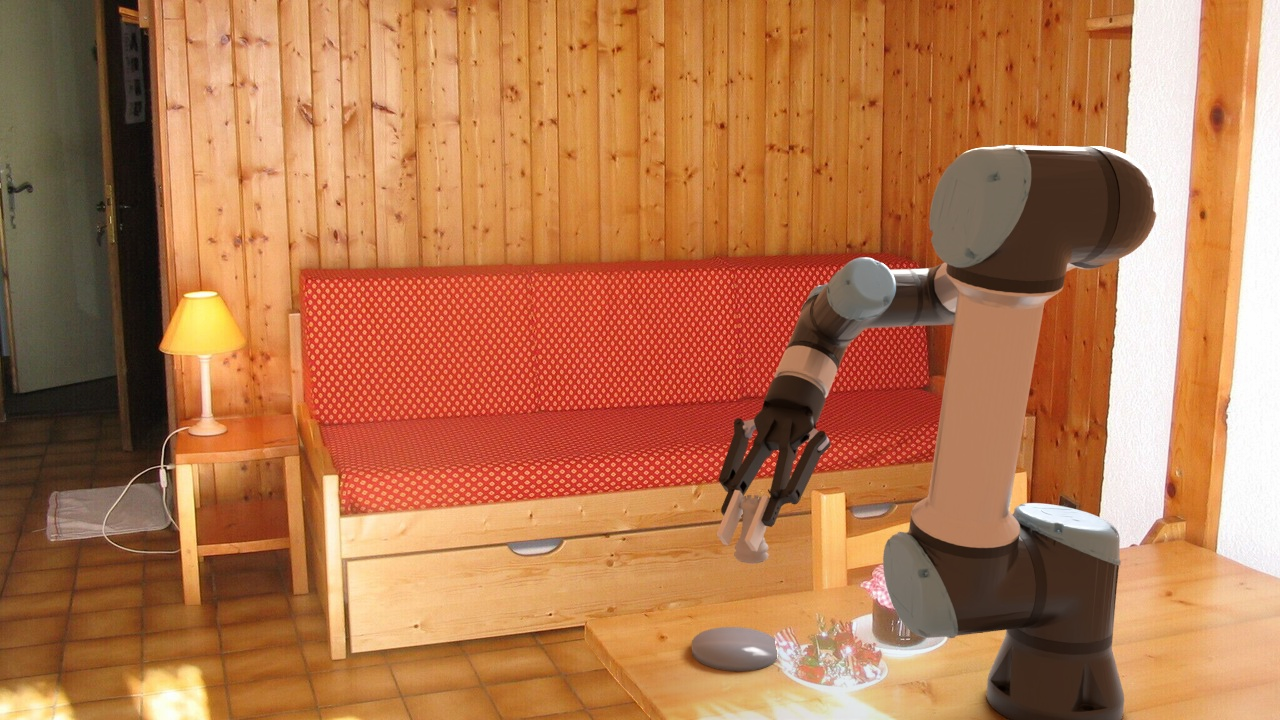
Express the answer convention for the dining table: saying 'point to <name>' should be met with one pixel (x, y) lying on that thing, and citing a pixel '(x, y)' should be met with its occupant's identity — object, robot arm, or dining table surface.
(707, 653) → the glossy grey pebble
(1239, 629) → the dining table surface
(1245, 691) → the dining table surface
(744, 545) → the rook chess piece
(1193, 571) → the dining table surface
